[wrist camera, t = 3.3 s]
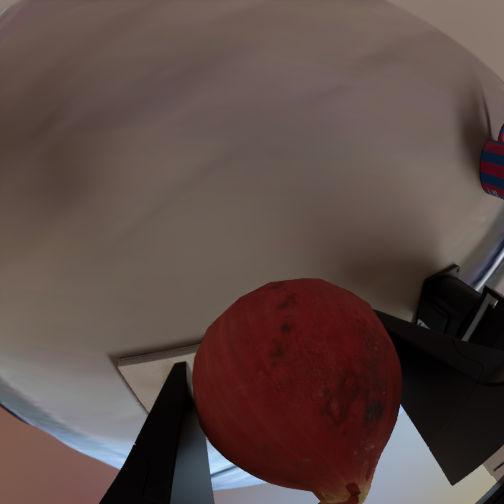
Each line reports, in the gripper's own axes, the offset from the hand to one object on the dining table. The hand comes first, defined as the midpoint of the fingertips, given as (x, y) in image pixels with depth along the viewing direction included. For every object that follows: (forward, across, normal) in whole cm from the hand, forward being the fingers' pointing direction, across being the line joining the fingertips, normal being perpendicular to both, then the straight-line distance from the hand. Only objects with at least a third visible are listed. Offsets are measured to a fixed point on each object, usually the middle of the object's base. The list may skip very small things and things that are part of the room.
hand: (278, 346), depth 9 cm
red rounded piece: (+2, 0, 0) cm, 2 cm away
